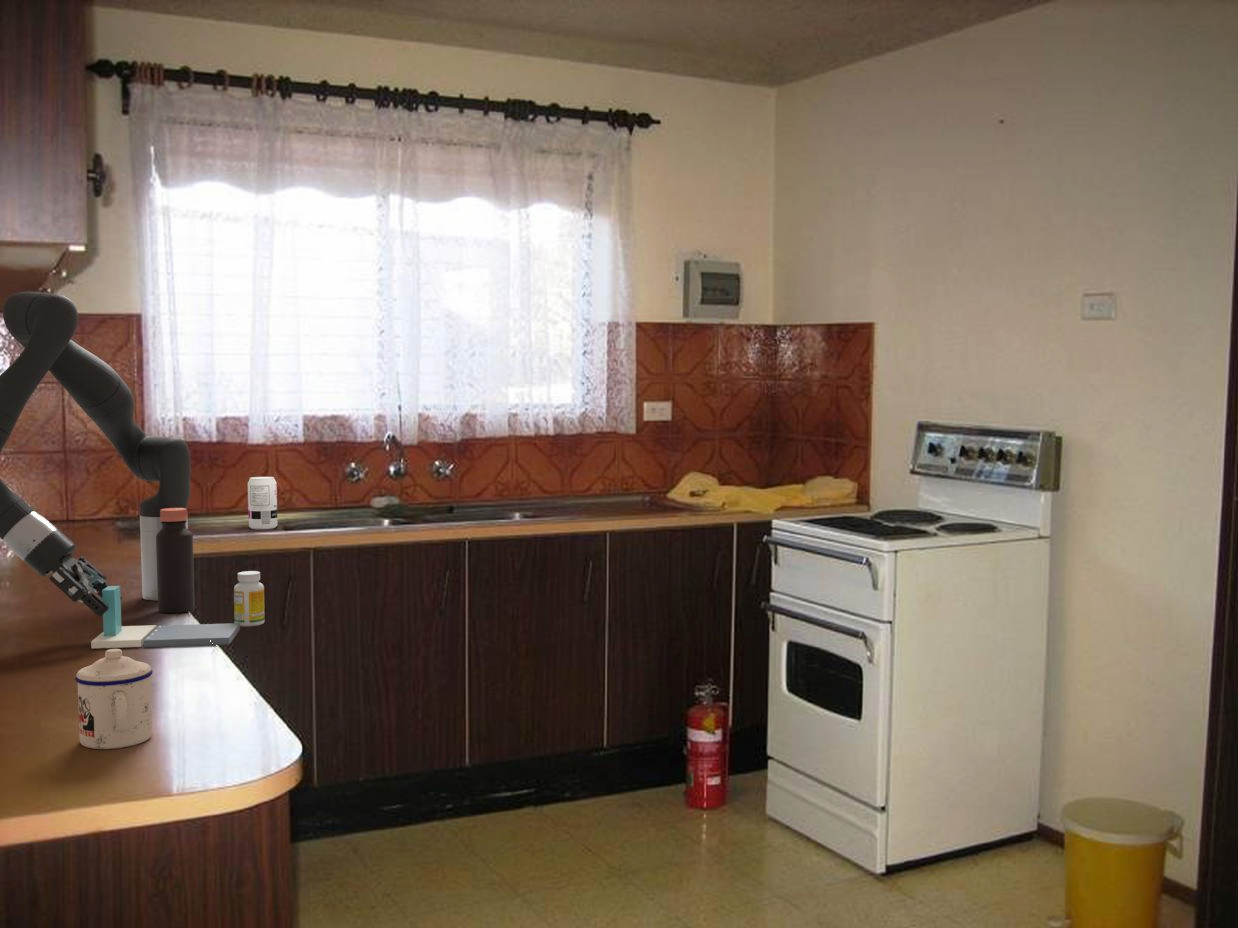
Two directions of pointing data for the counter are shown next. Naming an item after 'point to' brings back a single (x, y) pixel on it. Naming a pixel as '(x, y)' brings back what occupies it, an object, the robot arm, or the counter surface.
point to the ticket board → (192, 635)
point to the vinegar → (175, 563)
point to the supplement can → (262, 503)
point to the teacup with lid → (114, 702)
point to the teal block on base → (118, 625)
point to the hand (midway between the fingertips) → (111, 607)
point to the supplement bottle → (249, 599)
